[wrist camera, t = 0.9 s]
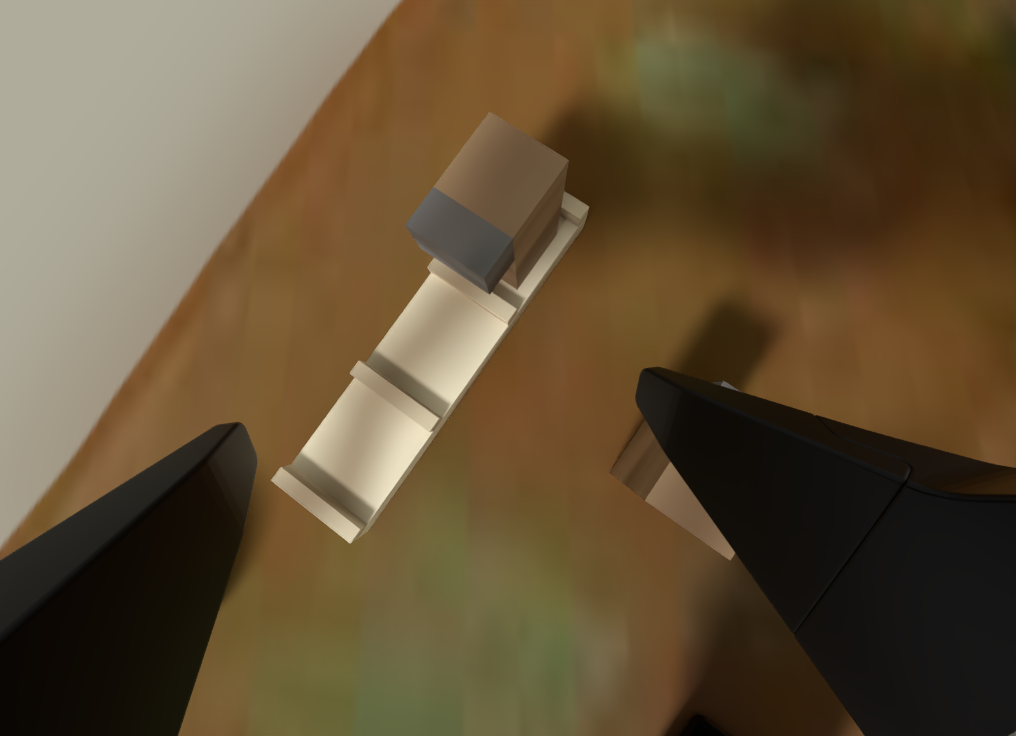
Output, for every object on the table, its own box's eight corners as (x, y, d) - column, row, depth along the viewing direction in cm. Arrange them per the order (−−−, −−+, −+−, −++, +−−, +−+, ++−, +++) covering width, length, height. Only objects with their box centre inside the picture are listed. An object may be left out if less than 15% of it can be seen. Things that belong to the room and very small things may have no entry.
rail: (583, 226, 21) (614, 129, 14) (369, 529, 20) (276, 601, 13) (511, 181, 22) (503, 63, 14) (298, 473, 21) (168, 511, 13)
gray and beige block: (724, 427, 20) (809, 436, 14) (668, 513, 19) (730, 560, 14) (665, 388, 20) (723, 380, 14) (609, 472, 20) (644, 500, 14)
